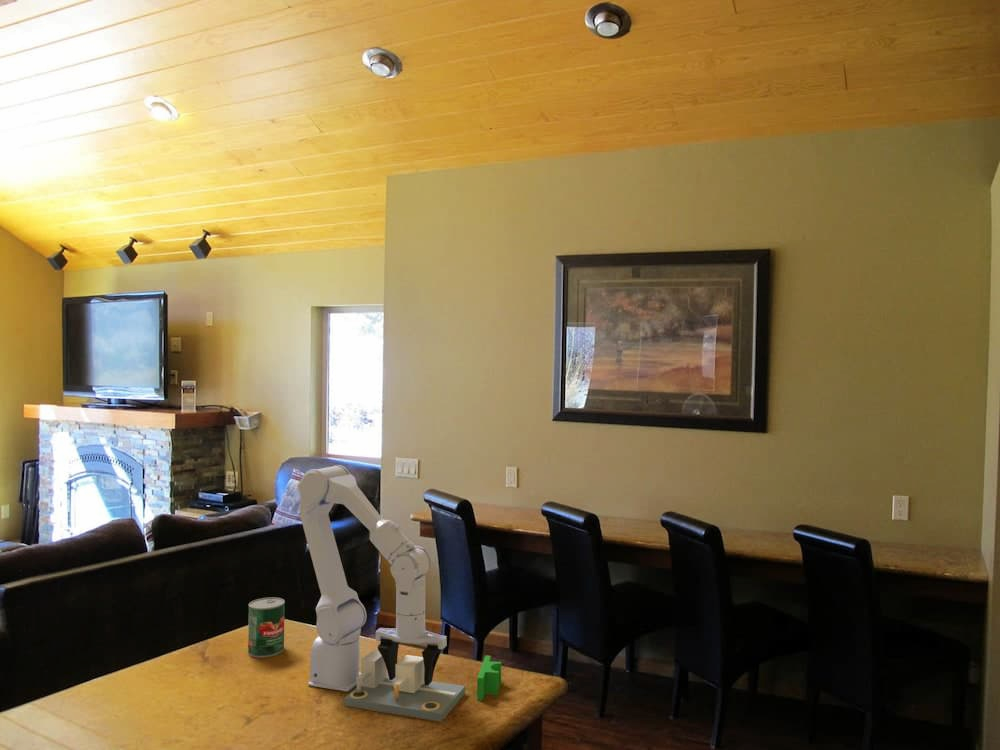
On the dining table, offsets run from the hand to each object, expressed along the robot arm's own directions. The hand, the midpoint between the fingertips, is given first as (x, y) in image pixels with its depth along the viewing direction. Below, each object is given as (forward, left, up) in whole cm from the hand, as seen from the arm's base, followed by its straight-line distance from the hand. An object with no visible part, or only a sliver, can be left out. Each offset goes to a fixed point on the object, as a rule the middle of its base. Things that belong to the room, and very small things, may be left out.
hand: (410, 680), depth 134 cm
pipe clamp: (+14, +8, -3) cm, 16 cm away
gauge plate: (0, -2, -3) cm, 3 cm away
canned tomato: (-41, +10, -3) cm, 42 cm away
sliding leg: (0, -2, -1) cm, 2 cm away
